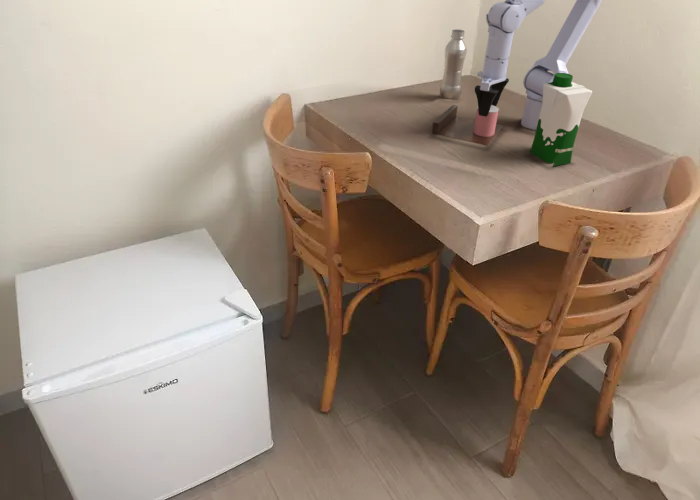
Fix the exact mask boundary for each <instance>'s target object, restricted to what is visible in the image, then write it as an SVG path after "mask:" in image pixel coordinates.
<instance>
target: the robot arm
mask: <svg viewBox="0 0 700 500" xmlns="http://www.w3.org/2000/svg"><path fill="white" fill-rule="evenodd" d="M545 2H546V0H505V1H498V2H496V3H494V4H493V5H492V6H491V7H490V8H489V10H488V12H487V14H485V21H486V24H487V25H488V27H487V33H488V37H487V43H486V44H487V45H486V49H485V53H484V60H483V66H482V71H478V72H477V73H476V74H477V77H480V80H481V82H480V85H476V86H475V87H474V93H475V95H476V99H477V106H478V112H479V115H481V116H485V117H487V115H488V113H489V111H490V108H491V105H493V106H496V107H497V105H498V103H499V100H500V98H501V95H502V93H503V91H504V89H505V87H506V86H507V85H508V83H509V81H510V79H509V78H508V77H507V71H508V66H509V61H510V56H511V50H512V45H513V40H514V35H515V31H517V30H518V29H519V28H520V27H521V25H522V23H523V21H524V20H525V19H526V17H528V16H529V15H530V14H532V13H533V12H535V11H536V10H537V9H539V8H540V7H541V6H543V5H544V4H545ZM602 2H603V0H576V1H575V3H574V5H573V6H572V8H571V10H570V11H569V13H568V15H567V17H566V19H565V21H564V22H563V24H562V26H561V27H560V30H559V32H558V34H557V35H556V37H555V39H554V41H553V43H552V44H551V46H550V47H549V50H548V52H547V54H546V55H545V56H544V57H541V58H539V59H537V60H535V62H534V64H533V66H532V67H531V68H530V69H529V70H527V72H526V73H525V74H524V77H523V83H522V84H523V87H524V89H525V94H526V97H525V103H524V106H523V111H522V116H521V121H520V125H521V126H522V127H524V128H526V129H529V130H534V131H536V129H537V124H538V120H539V116H540V112H541V107H542V102H543V84H547V83H551V82H553V79H554V75H555V74H556V73H567V74H570V72H569V70H568V68H567V64H568V62H569V60H570V59H571V57H572V55H573V53H574V51H575V49H576V48H577V46H578V44H579V42H580V41H581V39H582V37H583V35H584V34H585V32H586V30H587V28H588V27H589V25H590V23H591V21H592V20H593V18H594V16H595V14H596V12H597V11H598V9H599V7H600V5H601V4H602Z"/></svg>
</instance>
